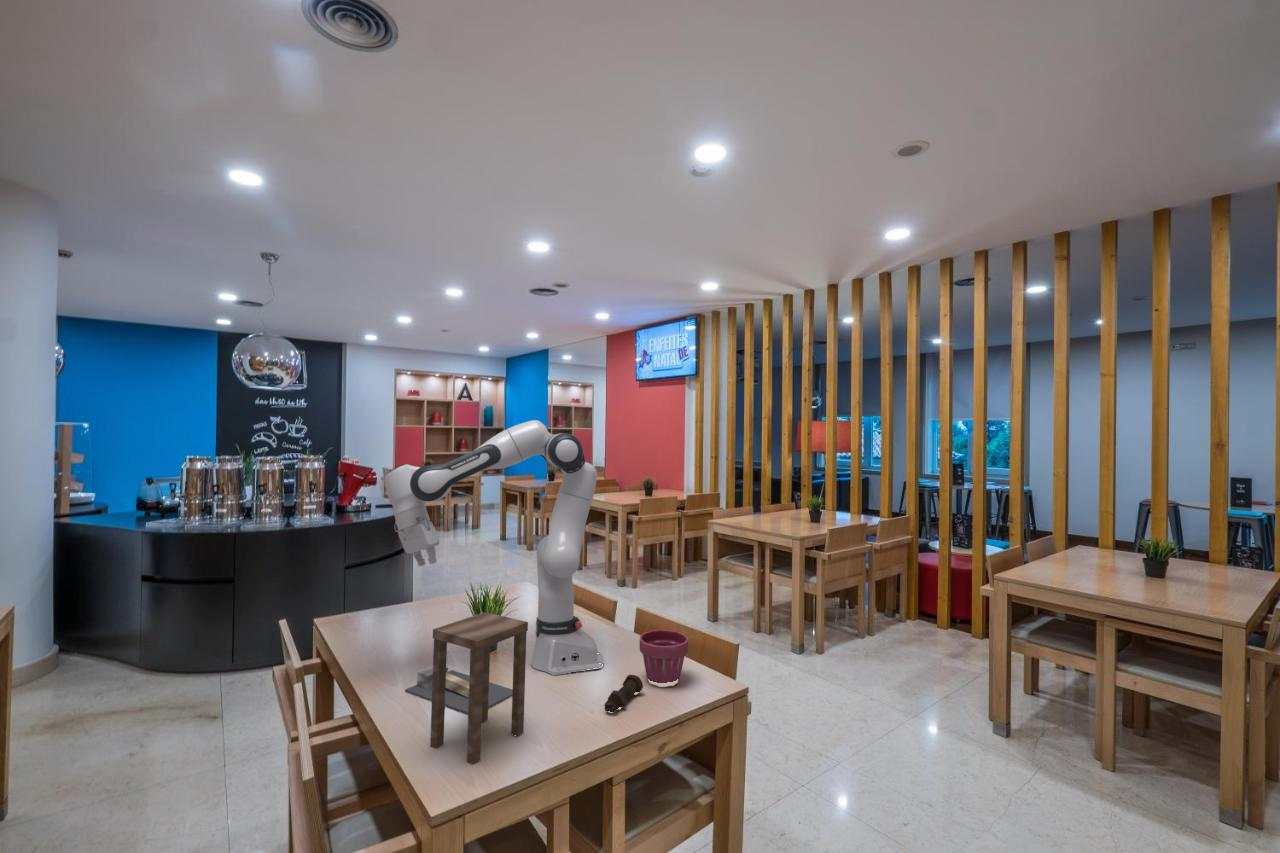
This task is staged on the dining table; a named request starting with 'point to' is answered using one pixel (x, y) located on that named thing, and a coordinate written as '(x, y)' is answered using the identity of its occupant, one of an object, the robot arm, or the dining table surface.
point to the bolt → (623, 693)
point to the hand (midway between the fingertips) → (427, 564)
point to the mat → (461, 701)
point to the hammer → (451, 681)
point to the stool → (477, 673)
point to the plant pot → (663, 654)
